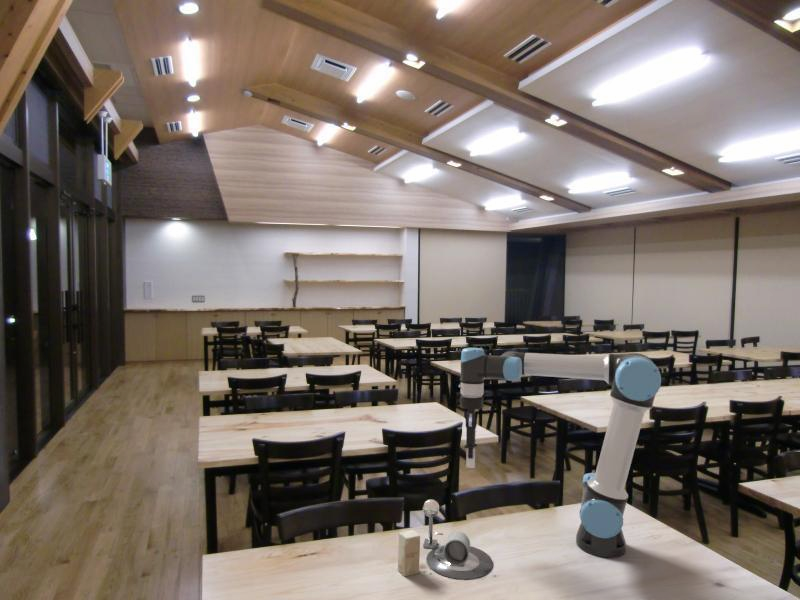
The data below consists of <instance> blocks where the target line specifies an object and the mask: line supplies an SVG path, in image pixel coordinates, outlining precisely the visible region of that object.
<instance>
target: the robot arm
mask: <svg viewBox="0 0 800 600" xmlns="http://www.w3.org/2000/svg"><path fill="white" fill-rule="evenodd" d="M522 376H533V377H535V376H536V377H537V376H539V377H552V378H553V377H554V378H567V379H580V380H581V379H582V380H583V379H584V380H594V381H595V380H597V381H604V382H606V383H607V384H608V385H612V386H611V391H610V395H609V397H610V398H611V400H612V402H613V405H612V408H611V412H610V416H609V420H608V424H607V428H606V431H605V434H604V438H603V439H604V440H603V443H602V446H601V451H600V455H599V458H598V460H597V461H598V462H597V465H596V470H595V472H589V473H585V474H584V475H583V477H582V496H581V504H580V509H579V518H580V525H579V527H578V530H577V533H576V535H575V543H576V545H577V547H578V548H580V550H582V551H583V552H586V553H589V554H591V555H594V556H597V557H601V558H617V557H621V556H624V555H625V554H626V552H627V542H626V539H625V535H624V532H623V529H622V528H623V526H624V513H625V509H626V506H627V502H628V498H629V493H627V490H626V489H625V487H626V483H627V479H628V476H629V471H630V468H631V464H632V462H633V458H634V453H635V449H636V445H637V443H638V442H637V441H638V440H639V436H640V430H641V428H642V423H643V419H644V416H645V414H646V412H647V411H649V410H651V409H652V408H653V405H654V402H655V397H656V395H657V393H658V392H659V390H660V388H661V384H662V376H661V373H660V369H659V368H658V366H657V365H656V364H655V363H654V361H653V360H652V359H651V358H650V357H648V356H646V355H645V354H643V353H637V352H636V353H635V352H633V353H632V352H630V353H607V354H606V355H604V356H597V355H596V356H595V355H580V354H579V355H577V354H574V355H573V354H559V353H558V354H557V353H555V354H554V353H541V352H540V353H538V352H518V351H515V350H507V351H505V352H504V353H502V354H501V355H488V354H486V353H485V350H484V348H479V347H464V348H462V350H461V355H460V384H458V388H460V390H459V391H460V397H459V406H460V408H462V409H465V410H466V411H465V414H464V419H465V428H466V430H465V431H466V434H465V435H466V443H465V445H464V449H465V450H466V452H465V454H466V457H465V459H466V461H465V463H466V464H465V467H466V468H469V469H470V468H471V469H475V468H476V447H477V446H478V444H477V443H476V430H477V429H476V428H477V424H478V416H479V413H478V412H476V410H480V409H481V410H482V408H483V407H484V396H483V395H484V391H485V389H484V388H485V387H484V386H485V383H484V382H485V380H484V379H488V380H489V379H490V380H491V379H492V380H498V381H499V380H502V381H503V380H504V381H508V382H510V381H515V382H516V381H520V380H521V378H522Z"/></svg>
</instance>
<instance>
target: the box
mask: <svg viewBox="0 0 800 600" xmlns="http://www.w3.org/2000/svg"><path fill="white" fill-rule="evenodd" d="M397 551H398V555H397V556H398V558H397V571H399V573H400V574H401V575H402V576H404V577H408V576H413V575H416V574H419V573H420V558H421V557H420V551H421V535H420V534H419V533H418V532H417V531H416V530H414V529H411V530H405V531H401V532H399V533H398V550H397Z"/></svg>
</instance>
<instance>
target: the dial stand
mask: <svg viewBox="0 0 800 600" xmlns="http://www.w3.org/2000/svg"><path fill="white" fill-rule="evenodd" d="M422 511H423V514H424V515H425V516H426V517H428V538H425V539H424V541H423V545H422V547H423V548H425V549H432V550H433V549H435V548H437V547H438V546H437V545H438V539H433V535H437V536H438V535H439V536H444V533H443V532H435V531H433V529H434V528H433V527H434V526H433V525H434V522H433V521H434V518H435V517H437V515H438V514H439V511H440V505H439V502H438V501H436V500H435V499H427V500H426V501H424V504H423V507H422Z"/></svg>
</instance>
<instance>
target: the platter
mask: <svg viewBox="0 0 800 600" xmlns="http://www.w3.org/2000/svg"><path fill="white" fill-rule="evenodd" d="M442 546H445V544H444V545H440V546H436V548H435V549H433V548H432V549H431V550H430V551H429V552H428V554H427V555H426V564H427V566H428V567H429V568H430V569H431V570H432V571H433V572H434V573H436V574H438V575H440V576H443V577H445V578H449V579H454V580H474V579H479V578H482V577H484V576H487V574H489V573H490V572H491V571H492V569H493V566H494V565H493V564H494V563H493V559H492V557H490V555H489V554H488V553H487V552H485V551H484V550H482V549H480V548H477V547H475V546H471V545H470V551H469V557H468V560H467V561H466V562H465V563H464V564H463V565H460V566H455V565H452V564H450V563H449V562H447V560H446V559H445V558H443V559H437V558H436V556H435V551H436V550H437V549H438V548H440V547H442ZM441 553H443V552H441Z"/></svg>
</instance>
